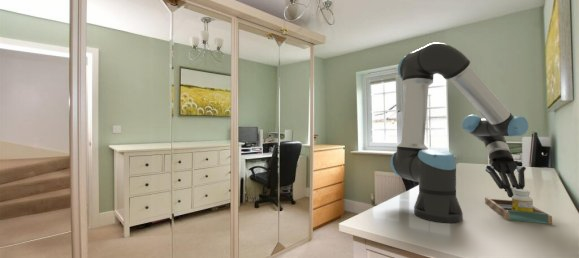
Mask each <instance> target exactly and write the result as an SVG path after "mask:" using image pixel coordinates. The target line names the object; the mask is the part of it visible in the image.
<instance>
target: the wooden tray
mask: <svg viewBox="0 0 579 258" xmlns="http://www.w3.org/2000/svg"><path fill="white" fill-rule="evenodd" d="M484 202H485V204H486V205H487V206H488V207H489V208H491V209H492V210H493V211H494V212H496V213H497V214H498V215H500V216H501V217H502V218H503V219H504V220H506V221H516V222H517V221H518V222H527V223H537V224H548V225H553V216H552V215H550V214H549V213H547V212H545V211H543V210H541V209H540V208H537V207H536V206H534V205H533V212H524V211H512V199H499V198H497V199H496V198H489V197H488V196H485V197H484Z"/></svg>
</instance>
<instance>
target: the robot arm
mask: <svg viewBox="0 0 579 258" xmlns="http://www.w3.org/2000/svg"><path fill="white" fill-rule="evenodd" d="M397 73H398V75H399V78H400V79H401V80H402V81H401V83H402V84H403V85H404V86H405V92H404V101H403V102H404V103H403V104H404V105H403V117H402V129H401V130H402V131H401V142H400V143H399V144H397V146H396V151H394V153H393V154H392V155H391V156H390V157H391V158H390V168H391V169H392V172H393V173H394V174H395V175H396V176H398V177H399V178H402V179H403V180H409V181H413V182H416V183H418V195H417V198H416V200H415V203H414V206H413V207H414V208H413V214H414V215H415V216H417V217H419V218H421V219H423V220H427V221H432V222H438V223H449V224H450V223H460V222H462V221H463V219H464V217H463V216H464V215H463V214H464V213H463V210H462V208H461V204H460V202H459V200H458V197H457V164H456V163H457V162H456V157H455V155H454V154H453V153H451V152H449V151H445V150H440V149H432V148H431V149H429V148H428V147H427V145H425V135H426V127H427V126H426V124H427V122H426V121H427V109H428V100H429V97H428V96H429V87H430V86H431V85H432V84H433V83H434V76H435V75H436V74H438V75H441V76H442V77H443V78H444V79H445V80H449V81H450V82H451V83H452V84H453V85H454V86H455V87H456V88H457V89H458V91H460V93H461V94H462V95H463V96H464V98H466V99H467V100H468V101H469V103H470V104H472V106H473V107H474V108H475V109H476V110H477V111H478V113H480V115H481V116H482V118H481V117H480V116H478V115H476V114H469V115H467V116H466V117H464V118H463V120H462V122H461V128H462V129H463V130H464V131H466V132H467V133H469V134H470V135H472V136H473V137H475V138H476V139H478V140H479V141H481V142H482V143H483V144H484V146H485V150H486V152H487V155H488V158H489V162H490V165H486V167H485V172H487V173H488V174H489V175H490V177H491V178H492V180H493V181H494V182H495V184H496V186H497V187H498V189H501V190H504V192H506V194H507V197H508V198H512V196H513V195H515V193H514V189H523V190H524V188H525V186H526V182H525V180H526V179H525V171H526V170H527V168H526V167H525V166H522V167H521V166H519V165H518V164H517V162H515V159H514V157H513V155H512V153H511V150H510V147H509V145H508V143H507V140H506V137H521V136H524V135H525V134H526V133H527V132H528V130H529V121H528V119H527V118H526V117H524V116H521V115H519V116H518V115H513V114H512V113H511V112H510V110H509V109H508V108H507V107H506V105H504V103H503V102H502V101H501V100H500V99H499V98H498V97H497V96H496V95H495V93H494V92H493V91H492V90H491V88H489V87H488V85H487V84H486V83H485V82H484V81H483V80H482V78H481V77H480V76H479V75H478V74H477V73H476V71H474V69H473V68H472V67H471V60H470V59H468V57H467V56H466V55H465V54H464V53H463V52H462V51H461V50H458V49H457V48H456V47H453V46H452V45H449V44H448V43H444V42H432V43H429V44H426V45H425V46H423V47H420V48H419V49H416V50H414V51H410V52H408V53H407V54H406V55H404V56H403V57H402V58H401V59H400V60H399V62H398V65H397ZM515 171H517V173H518V174H517V178H518V180H517V178H516V175H515Z"/></svg>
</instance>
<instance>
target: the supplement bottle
mask: <svg viewBox="0 0 579 258" xmlns="http://www.w3.org/2000/svg"><path fill="white" fill-rule="evenodd" d="M514 193H515V195H513V196H512V197H511V200H512V211H524V212H533V206H534V202H533V201H534V200H533V198H532V197H531V196H530V195H531V192H530V190H527V189H524V188H523V189H514Z"/></svg>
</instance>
